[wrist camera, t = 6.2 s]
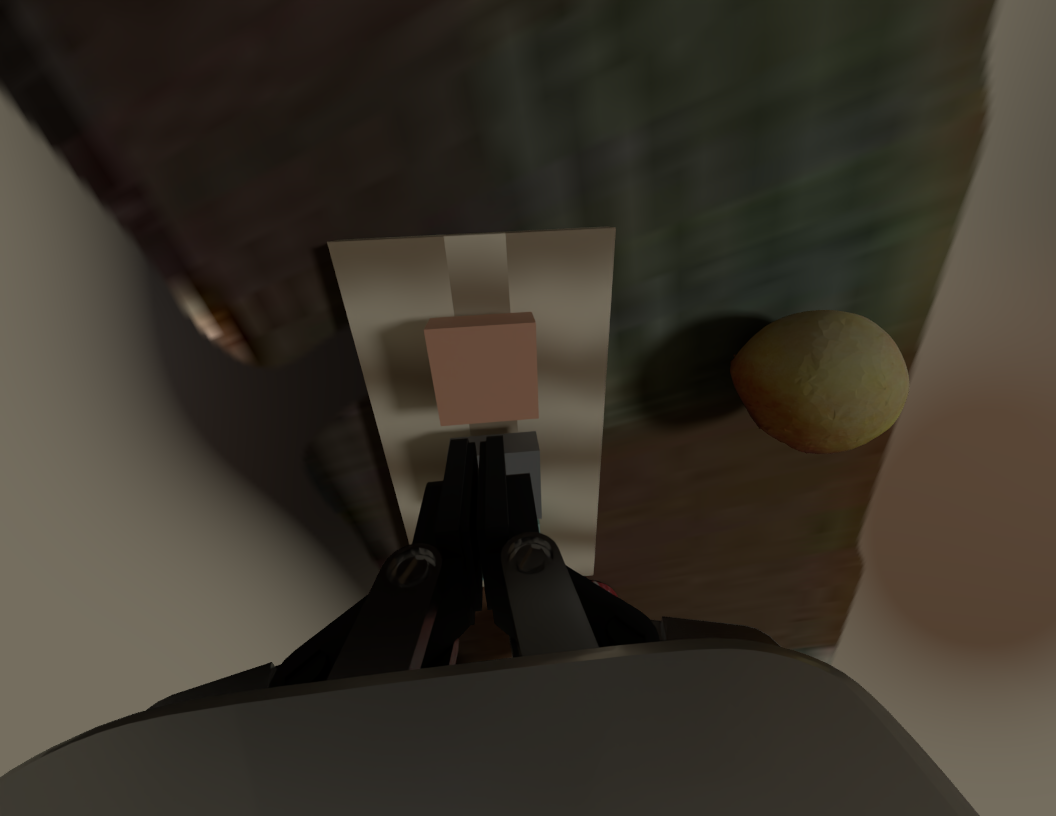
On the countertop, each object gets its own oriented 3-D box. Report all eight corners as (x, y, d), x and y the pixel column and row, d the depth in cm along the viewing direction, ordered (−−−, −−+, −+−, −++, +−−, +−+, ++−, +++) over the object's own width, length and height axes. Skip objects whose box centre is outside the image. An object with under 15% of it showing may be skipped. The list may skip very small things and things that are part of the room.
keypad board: (338, 240, 19) (327, 242, 18) (607, 226, 20) (615, 227, 18) (425, 576, 31) (422, 593, 30) (589, 560, 32) (593, 575, 31)
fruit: (809, 398, 26) (925, 468, 19) (694, 411, 26) (771, 486, 19) (844, 288, 23) (1003, 324, 16) (712, 301, 22) (815, 343, 15)
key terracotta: (433, 312, 19) (423, 329, 16) (529, 306, 19) (535, 322, 17) (447, 398, 22) (440, 426, 19) (532, 392, 22) (538, 418, 19)
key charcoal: (451, 428, 22) (446, 458, 20) (533, 421, 23) (539, 450, 20) (462, 491, 25) (458, 526, 22) (536, 485, 25) (541, 518, 22)
